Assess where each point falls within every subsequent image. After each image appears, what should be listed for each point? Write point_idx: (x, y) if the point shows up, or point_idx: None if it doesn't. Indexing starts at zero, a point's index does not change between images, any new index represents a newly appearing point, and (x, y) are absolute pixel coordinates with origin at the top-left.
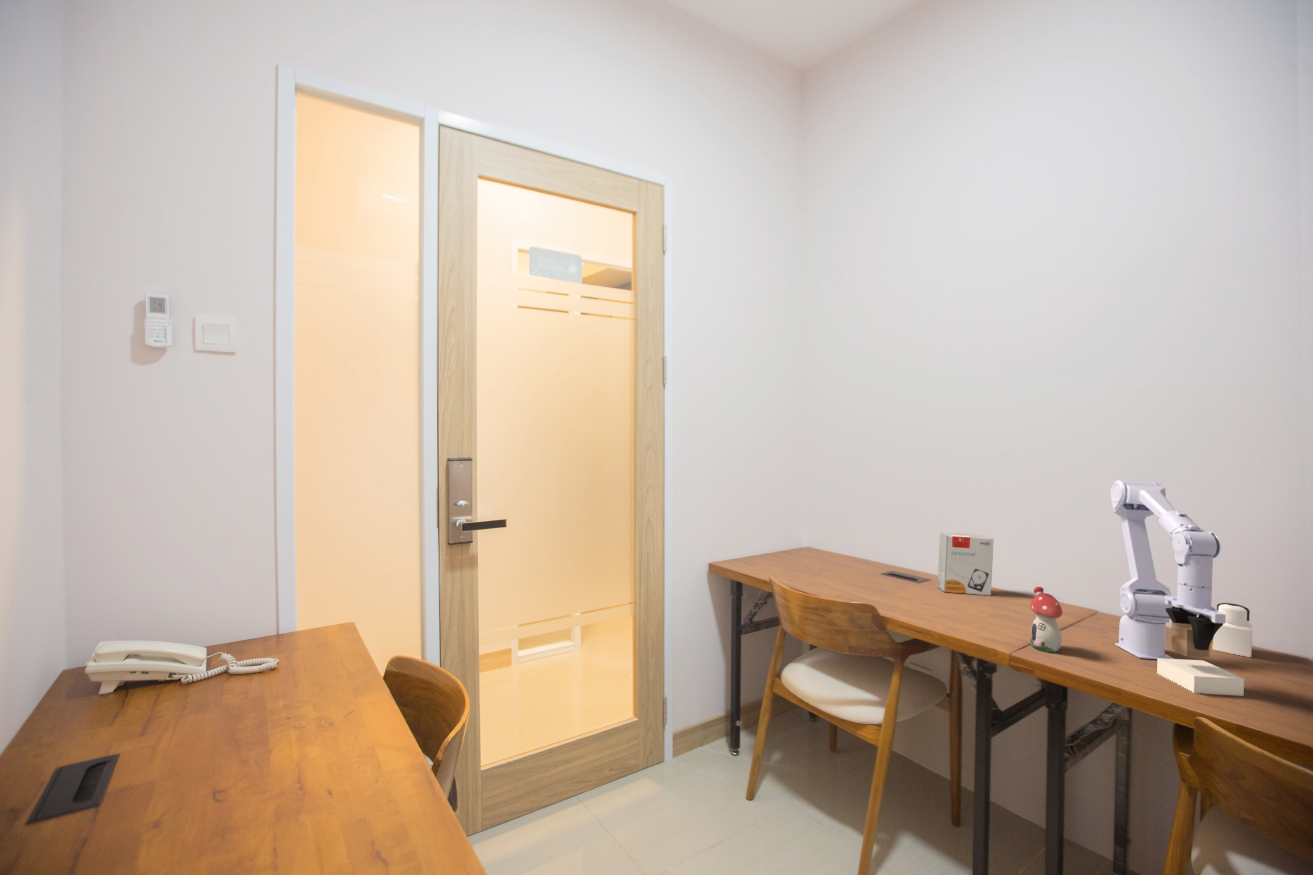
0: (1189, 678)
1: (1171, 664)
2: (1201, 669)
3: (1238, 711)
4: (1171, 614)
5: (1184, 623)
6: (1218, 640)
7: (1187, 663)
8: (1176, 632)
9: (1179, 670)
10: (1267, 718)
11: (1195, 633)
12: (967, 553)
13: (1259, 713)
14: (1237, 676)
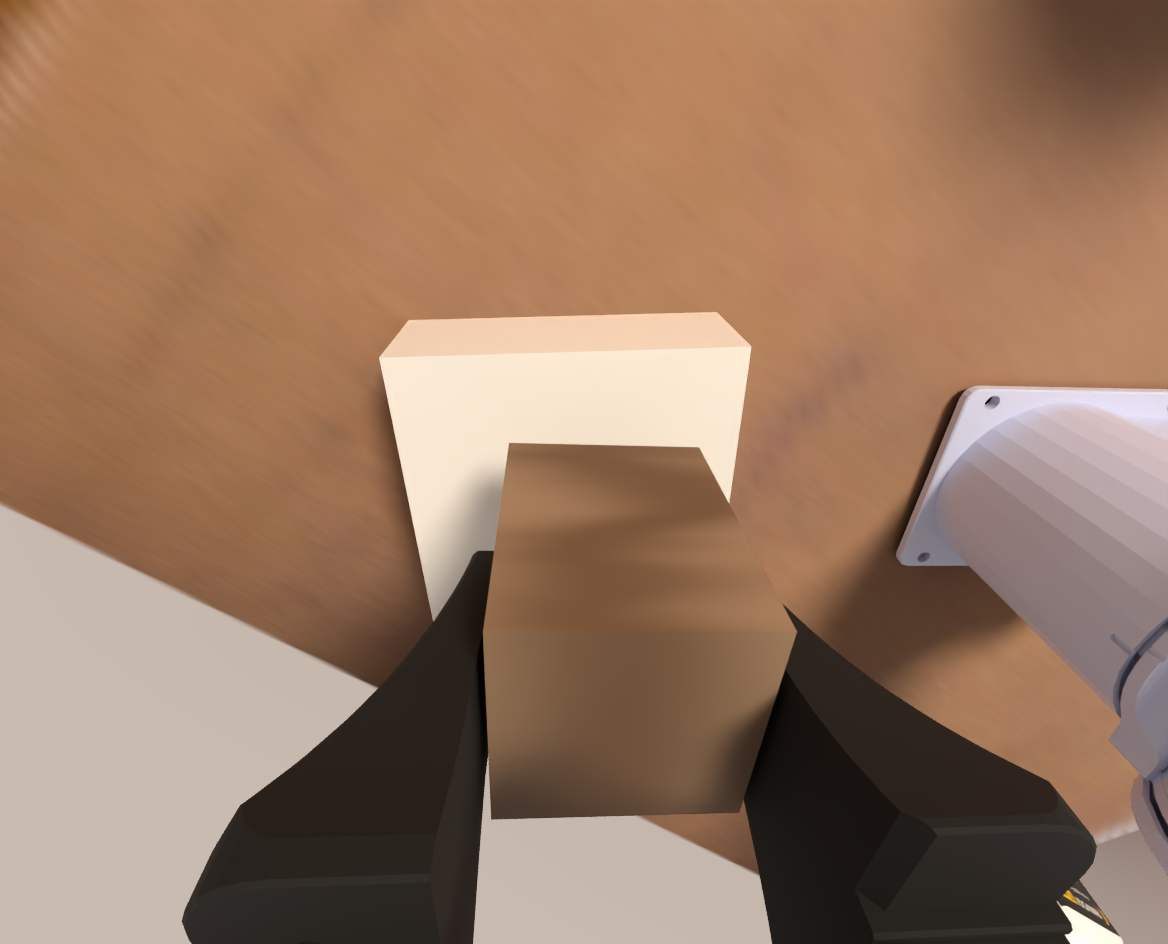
0: (433, 345)
1: (619, 360)
2: None
3: (173, 385)
4: (898, 760)
5: (758, 745)
6: None
7: None
8: (672, 557)
9: (525, 349)
10: (136, 470)
11: (432, 658)
12: None
13: (200, 477)
14: None
